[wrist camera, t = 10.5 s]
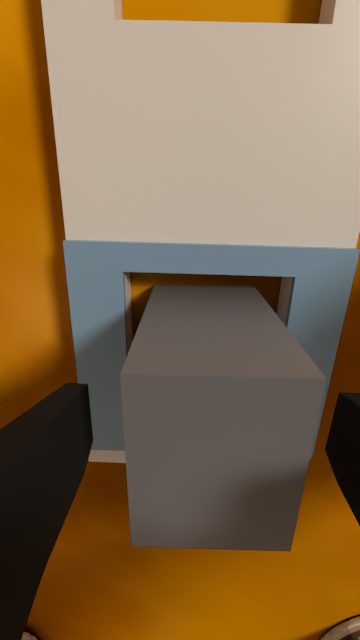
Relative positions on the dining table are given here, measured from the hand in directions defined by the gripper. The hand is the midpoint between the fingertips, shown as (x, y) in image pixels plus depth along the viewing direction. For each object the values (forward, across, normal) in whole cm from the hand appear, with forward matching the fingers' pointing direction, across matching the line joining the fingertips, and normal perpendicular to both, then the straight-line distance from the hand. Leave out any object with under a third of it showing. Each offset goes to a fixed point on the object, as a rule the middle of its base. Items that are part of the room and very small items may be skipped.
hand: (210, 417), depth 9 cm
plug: (+5, 0, 0) cm, 5 cm away
